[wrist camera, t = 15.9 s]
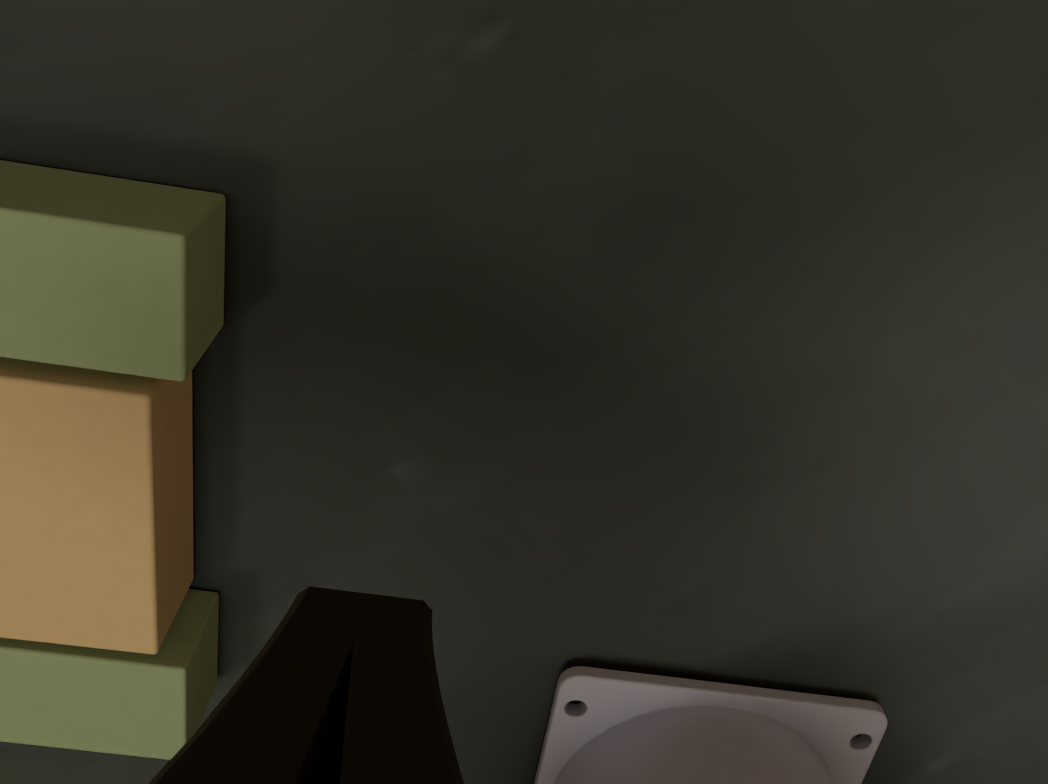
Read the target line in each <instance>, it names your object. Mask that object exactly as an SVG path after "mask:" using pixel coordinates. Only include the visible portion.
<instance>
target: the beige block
mask: <svg viewBox="0 0 1048 784" xmlns="http://www.w3.org/2000/svg"><path fill="white" fill-rule="evenodd" d="M193 579H194V568H193V430H192V371H191V372H190V374H189V375H188V377H187V378H186V380H185V381H172V380H165V379H158V378H151V377H143V376H136V375H129V374H122V373H114V372H107V371H100V370H93V369H85V368H78V367H71V366H64V365H56V364H49V363H42V362H35V361H27V360H20V359H13V358H6V357H0V637H1V638H10V639H18V640H27V641H36V642H45V643H54V644H63V645H72V646H81V647H90V648H99V649H108V650H117V651H126V652H135V653H144V654H152V655H153V654H156V653H158V651H159V649H160V647H161V645H162V643H163V641H164V638H165V636H166V634H167V632H168V630H169V628H170V626H171V624H172V622H173V620H174V618H175V616H176V614H177V612H178V610H179V608H180V606H181V603H182V601H183V599H184V597H185V595H186V593H187V591H188V589H189V587H190V585H191V583H192V581H193Z"/></svg>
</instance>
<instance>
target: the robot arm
mask: <svg viewBox="0 0 1048 784" xmlns="http://www.w3.org/2000/svg"><path fill="white" fill-rule="evenodd" d="M573 700H579V701H582V702H581V703H579V704H571V703H568V702H570V701H573ZM887 724H888V721H887V718H886V716H885V713H884V711H883V709H882V707H881V706H880V705H879V704H878V703H876V702H872V701H868V700H860V699H852V698H843V697H835V696H827V695H818V694H810V693H802V692H793V691H785V690H777V689H768V688H760V687H752V686H743V685H735V684H727V683H718V682H710V681H702V680H693V679H685V678H677V677H668V676H660V675H652V674H643V673H635V672H627V671H618V670H610V669H601V668H593V667H585V666H574V667H572V668H569V669H566V670H565V671H564V672H563V673H561V675H560V677H559V679H558V682H557V686H556V690H555V695H554V699H553V703H552V708H551V712H550V716H549V720H548V725H547V729H546V733H545V738H544V742H543V746H542V751H541V755H540V759H539V763H538V768H537V772H536V776H535V781H534V784H861V783H862V781H863V779H864V777H865V775H866V772H867V770H868V768H869V766H870V764H871V761H872V759H873V757H874V755H875V753H876V750H877V748H878V746H879V744H880V742H881V739H882V737H883V735H884V733H885V731H886V728H887ZM858 734H862V735H860V736H858V737H854V736H856V735H858ZM149 784H464V782H463V779H462V776H461V772H460V769H459V765H458V761H457V758H456V754H455V750H454V746H453V743H452V739H451V735H450V732H449V728H448V724H447V720H446V716H445V711H444V707H443V703H442V698H441V693H440V687H439V682H438V676H437V671H436V665H435V658H434V650H433V640H432V610H431V609H430V608H429V606H428V605H427V604H426V603H425V602H424V601H423V600H415V599H406V598H398V597H390V596H382V595H374V594H366V593H358V592H350V591H342V590H334V589H326V588H317V587H308V588H307V589H305V590H303V591H302V592H300V593H299V594H298V595H297V597H296V598H295V600H294V602H293V604H292V605H291V607H290V609H289V610H288V612H287V613H286V615H285V616H284V618H283V619H282V621H281V622H280V624H279V626H278V627H277V628H276V630H275V631H274V633H273V634H272V636H271V637H270V639H269V640H268V641H267V643H266V644H265V646H264V647H263V648H262V650H261V651H260V652H259V654H258V655H257V656H256V658H255V659H254V660H253V662H252V663H251V664H250V666H249V667H248V668H247V670H246V671H245V672H244V674H243V675H242V676H241V677H240V679H239V680H238V681H237V682H236V684H235V685H234V686H233V687H232V688H231V690H230V691H229V692H228V693H227V695H226V696H225V697H224V698H223V699H222V701H221V702H220V703H219V704H218V706H217V707H216V708H215V709H214V710H213V712H212V713H211V714H210V715H209V717H208V718H207V719H206V720H205V721H204V723H203V724H202V725H201V726H200V727H199V729H198V730H197V731H196V732H195V733H194V734H193V736H192V737H191V738H190V739H189V740H188V741H187V742H186V743H185V745H184V746H183V747H182V748H181V749H180V750H179V751H178V752H177V753H176V754H175V755H174V757H173V758H172V759H171V760H170V761H169V762H168V763H167V764H166V765H165V766H164V767H163V768H162V770H161V771H160V772H159V773H158V774H157V775H156V776H155V777H154V778H153V779H152V780H151V782H150V783H149Z"/></svg>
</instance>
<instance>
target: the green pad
mask: <svg viewBox="0 0 1048 784" xmlns="http://www.w3.org/2000/svg"><path fill="white" fill-rule="evenodd" d="M225 209H226V199H225V196H224V195H222V194H219V193H213V192H206V191H199V190H193V189H186V188H180V187H173V186H167V185H160V184H154V183H147V182H140V181H134V180H127V179H121V178H114V177H108V176H101V175H95V174H88V173H81V172H75V171H68V170H62V169H55V168H49V167H42V166H36V165H29V164H22V163H16V162H9V161H3V160H0V357H6V358H13V359H20V360H27V361H35V362H42V363H49V364H56V365H64V366H71V367H78V368H85V369H93V370H100V371H107V372H114V373H122V374H129V375H136V376H143V377H151V378H158V379H165V380H172V381H185V380H186V378H187V377H188V375H189V374H190V372H191V371H192V370H193V368H194V367H195V365H196V364H197V362H198V361H199V360H200V358H201V357H202V355H203V354H204V352H205V351H206V350H207V348H208V347H209V345H210V344H211V342H212V341H213V340H214V338H215V337H216V335H217V334H218V332H219V331H220V330H221V328H222V326H223V323H224V266H225ZM218 617H219V594H218V593H217V592H210V591H202V590H194V589H188V591H187V593H186V595H185V597H184V599H183V601H182V603H181V606H180V608H179V610H178V612H177V614H176V616H175V618H174V620H173V622H172V624H171V626H170V628H169V630H168V632H167V634H166V636H165V638H164V641H163V643H162V645H161V647H160V649H159V651H158V653H156V654H153V655H152V654H144V653H135V652H126V651H117V650H108V649H99V648H90V647H81V646H72V645H63V644H54V643H45V642H36V641H27V640H18V639H10V638H1V637H0V741H3V742H12V743H21V744H30V745H39V746H49V747H58V748H67V749H76V750H85V751H94V752H104V753H113V754H122V755H131V756H140V757H149V758H159V759H168V760H171V759H172V758H173V757H174V755H175V754H176V753H177V752H178V751H179V750H180V749H181V748H182V747H183V746H184V745H185V743H186V742H187V741H188V740H189V739H190V738H191V737H192V736H193V734H194V733H195V732H196V731H197V730H198V728H199V725H200V723H201V720H202V718H203V715H204V713H205V710H206V707H207V705H208V702H209V700H210V697H211V695H212V692H213V689H214V687H215V684H216V682H217V673H218Z"/></svg>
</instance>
